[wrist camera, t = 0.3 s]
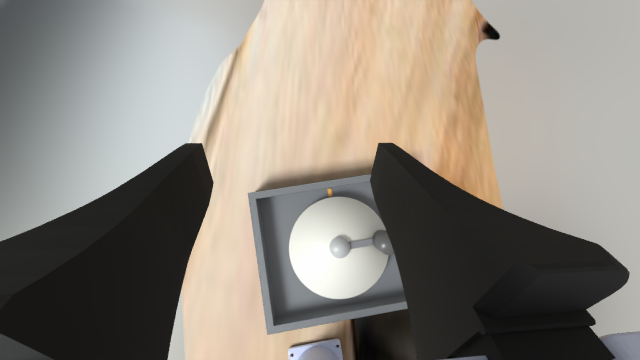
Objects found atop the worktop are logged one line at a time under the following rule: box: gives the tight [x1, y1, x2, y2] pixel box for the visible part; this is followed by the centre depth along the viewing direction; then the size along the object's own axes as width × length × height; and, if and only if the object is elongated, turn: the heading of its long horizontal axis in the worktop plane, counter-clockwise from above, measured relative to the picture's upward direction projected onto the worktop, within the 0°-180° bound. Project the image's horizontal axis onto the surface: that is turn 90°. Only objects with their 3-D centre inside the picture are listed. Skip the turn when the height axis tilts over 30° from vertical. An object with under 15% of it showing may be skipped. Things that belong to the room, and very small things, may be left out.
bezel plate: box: [248, 174, 408, 335], centre depth 38 cm, size 20×24×4 cm
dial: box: [289, 197, 394, 299], centre depth 36 cm, size 16×15×5 cm
